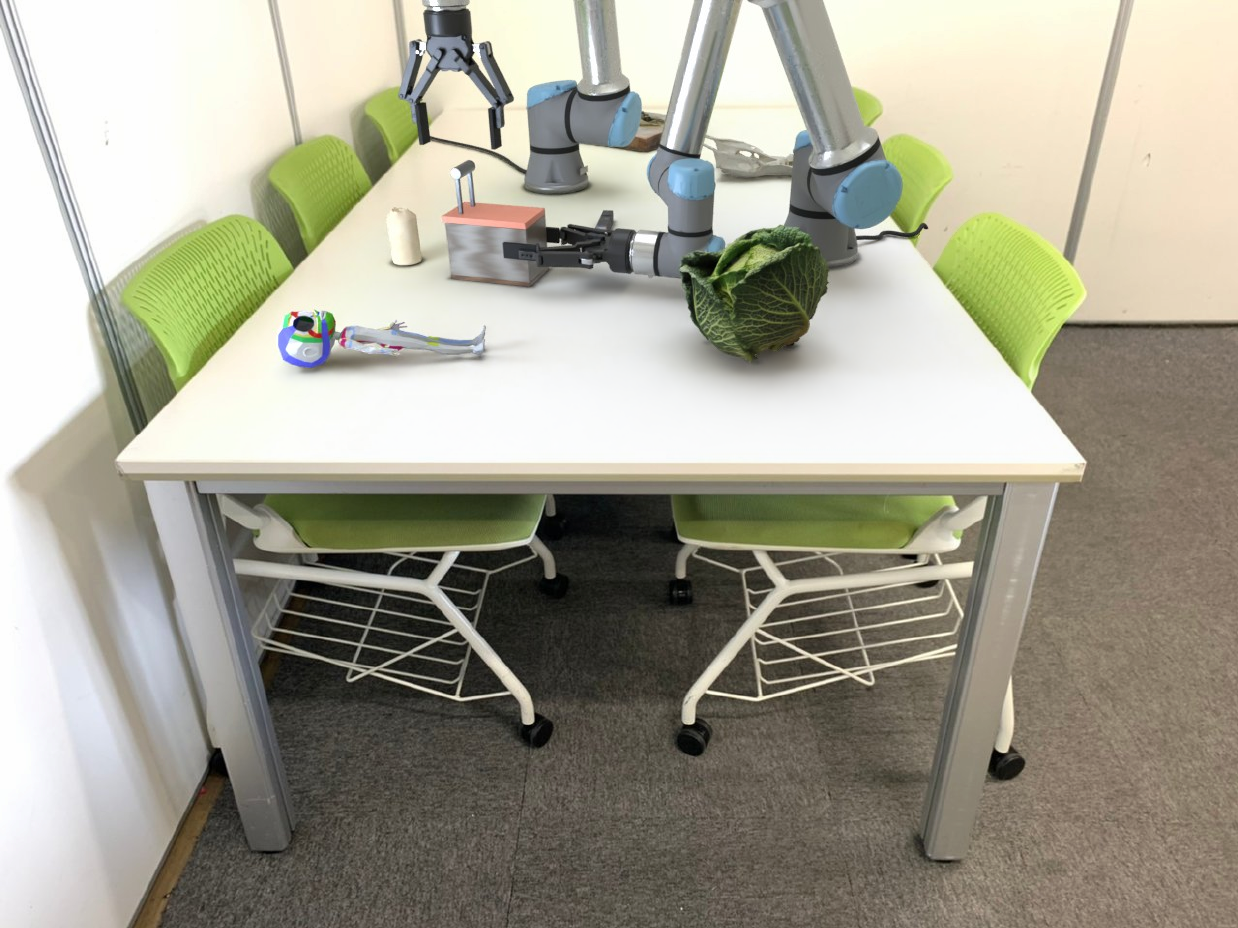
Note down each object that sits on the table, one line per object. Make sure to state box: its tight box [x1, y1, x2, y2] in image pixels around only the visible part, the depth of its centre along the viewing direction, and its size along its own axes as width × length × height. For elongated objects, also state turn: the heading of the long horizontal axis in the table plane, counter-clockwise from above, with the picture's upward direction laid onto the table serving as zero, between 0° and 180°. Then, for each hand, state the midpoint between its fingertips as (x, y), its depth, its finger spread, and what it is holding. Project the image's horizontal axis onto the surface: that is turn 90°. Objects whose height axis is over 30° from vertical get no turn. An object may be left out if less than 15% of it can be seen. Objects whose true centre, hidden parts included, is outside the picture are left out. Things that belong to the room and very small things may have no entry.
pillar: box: [594, 209, 615, 230], centre depth 182 cm, size 2×2×20 cm
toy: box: [276, 309, 487, 369], centre depth 134 cm, size 10×8×30 cm
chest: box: [444, 214, 550, 288], centre depth 162 cm, size 16×9×10 cm, turn 72°
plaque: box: [612, 110, 667, 152], centre depth 257 cm, size 30×7×30 cm
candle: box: [385, 207, 423, 266], centre depth 169 cm, size 6×6×10 cm
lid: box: [441, 159, 546, 229], centre depth 157 cm, size 16×9×9 cm, turn 72°
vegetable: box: [679, 224, 830, 364], centre depth 132 cm, size 20×19×20 cm
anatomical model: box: [703, 134, 794, 178], centre depth 218 cm, size 15×9×25 cm
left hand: (460, 145), depth 154 cm, fingers open, 13 cm apart
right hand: (515, 241), depth 161 cm, fingers closed on chest, 9 cm apart
